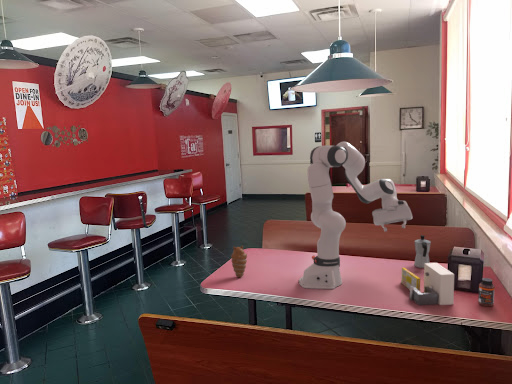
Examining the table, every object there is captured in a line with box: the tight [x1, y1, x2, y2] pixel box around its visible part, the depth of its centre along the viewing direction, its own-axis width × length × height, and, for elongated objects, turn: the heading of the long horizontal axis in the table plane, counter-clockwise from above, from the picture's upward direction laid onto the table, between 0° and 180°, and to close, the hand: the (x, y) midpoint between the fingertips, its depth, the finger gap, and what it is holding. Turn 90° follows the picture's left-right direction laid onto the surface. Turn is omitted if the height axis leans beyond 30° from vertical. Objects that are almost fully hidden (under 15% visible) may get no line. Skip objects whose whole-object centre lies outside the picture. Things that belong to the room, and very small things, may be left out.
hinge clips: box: [409, 285, 438, 306], centre depth 178 cm, size 11×8×6 cm
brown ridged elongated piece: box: [230, 245, 248, 278], centre depth 217 cm, size 9×8×18 cm
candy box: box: [400, 267, 421, 292], centre depth 192 cm, size 16×2×8 cm, turn 5°
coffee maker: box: [413, 234, 432, 269], centre depth 223 cm, size 15×9×18 cm, turn 168°
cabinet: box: [423, 262, 455, 306], centre depth 180 cm, size 7×16×14 cm, turn 1°
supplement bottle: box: [477, 277, 496, 307], centre depth 172 cm, size 6×6×11 cm
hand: (394, 229), depth 209 cm, fingers open, 8 cm apart
